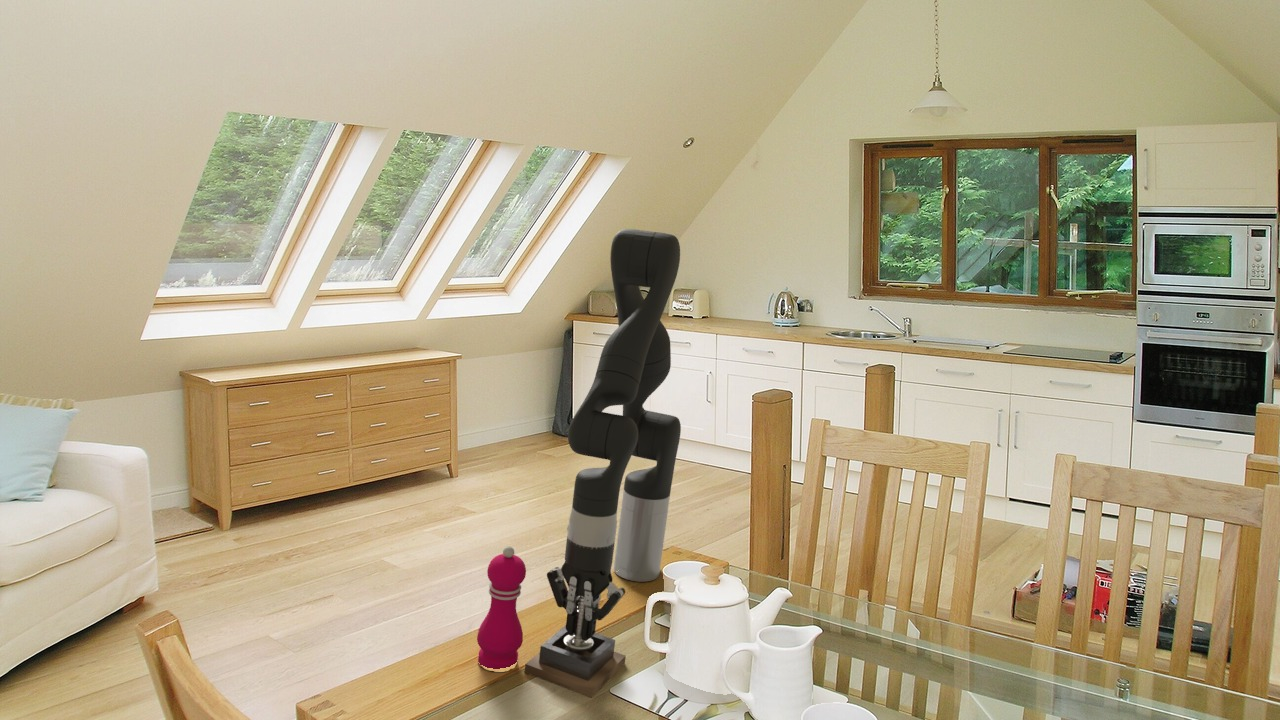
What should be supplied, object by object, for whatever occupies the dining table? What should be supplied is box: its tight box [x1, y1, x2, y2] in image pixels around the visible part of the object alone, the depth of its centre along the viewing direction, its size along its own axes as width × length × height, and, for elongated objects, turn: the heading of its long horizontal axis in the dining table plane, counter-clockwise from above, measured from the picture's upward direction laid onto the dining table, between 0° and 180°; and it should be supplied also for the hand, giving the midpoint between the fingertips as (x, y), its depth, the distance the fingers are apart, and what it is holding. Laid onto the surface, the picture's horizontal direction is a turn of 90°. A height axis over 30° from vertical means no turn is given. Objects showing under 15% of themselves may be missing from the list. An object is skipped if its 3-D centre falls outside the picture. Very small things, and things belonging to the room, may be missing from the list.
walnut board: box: [524, 647, 627, 699], centre depth 155 cm, size 12×12×2 cm
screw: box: [563, 596, 594, 656], centre depth 153 cm, size 13×5×5 cm
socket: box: [539, 624, 616, 681], centre depth 155 cm, size 9×9×3 cm
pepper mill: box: [476, 546, 527, 669], centre depth 152 cm, size 7×7×20 cm
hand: (579, 635), depth 154 cm, fingers closed on screw, 2 cm apart
